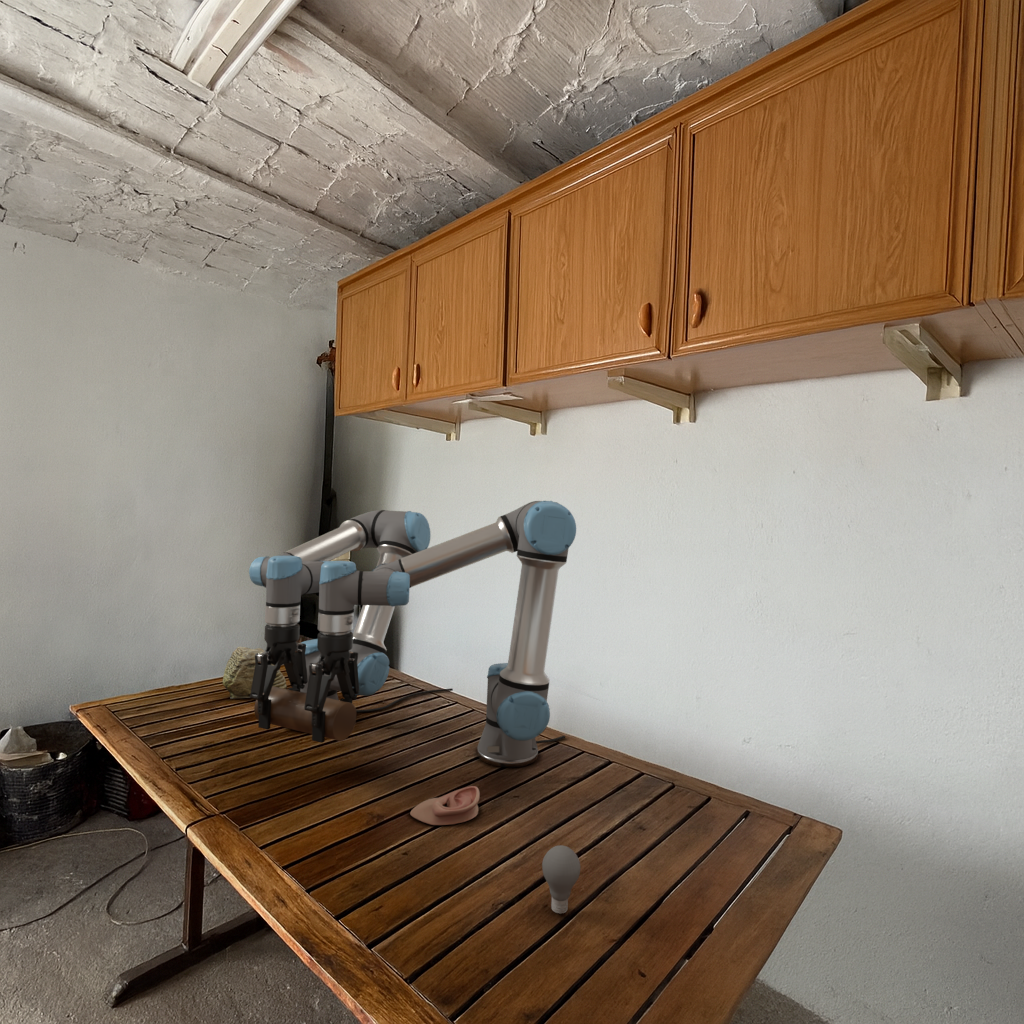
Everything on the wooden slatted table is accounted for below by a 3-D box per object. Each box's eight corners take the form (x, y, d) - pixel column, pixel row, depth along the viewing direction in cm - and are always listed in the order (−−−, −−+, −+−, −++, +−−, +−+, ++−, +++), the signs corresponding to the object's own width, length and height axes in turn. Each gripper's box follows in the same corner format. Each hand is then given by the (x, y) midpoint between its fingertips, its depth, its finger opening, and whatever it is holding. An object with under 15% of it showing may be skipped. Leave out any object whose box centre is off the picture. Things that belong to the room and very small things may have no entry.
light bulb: (538, 899, 102) (540, 837, 102) (574, 898, 103) (577, 837, 103) (542, 923, 96) (545, 859, 96) (581, 923, 97) (584, 858, 97)
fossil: (218, 695, 195) (220, 647, 195) (278, 685, 208) (279, 640, 207) (228, 703, 189) (230, 653, 188) (289, 692, 201) (290, 645, 201)
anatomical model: (405, 801, 125) (424, 776, 136) (404, 821, 125) (423, 795, 136) (470, 810, 122) (484, 785, 133) (469, 831, 122) (483, 803, 133)
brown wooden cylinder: (253, 726, 143) (254, 691, 143) (279, 716, 151) (281, 682, 151) (331, 746, 134) (333, 708, 134) (355, 734, 142) (357, 698, 142)
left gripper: (259, 633, 134) (256, 740, 134) (326, 618, 153) (322, 711, 154) (233, 629, 137) (230, 733, 137) (301, 614, 156) (298, 706, 157)
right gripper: (316, 642, 128) (312, 754, 128) (378, 625, 147) (374, 722, 147) (287, 638, 131) (283, 747, 131) (351, 622, 150) (348, 717, 151)
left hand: (278, 721), depth 146 cm, fingers closed on brown wooden cylinder, 8 cm apart
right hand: (331, 734), depth 139 cm, fingers closed on brown wooden cylinder, 8 cm apart
